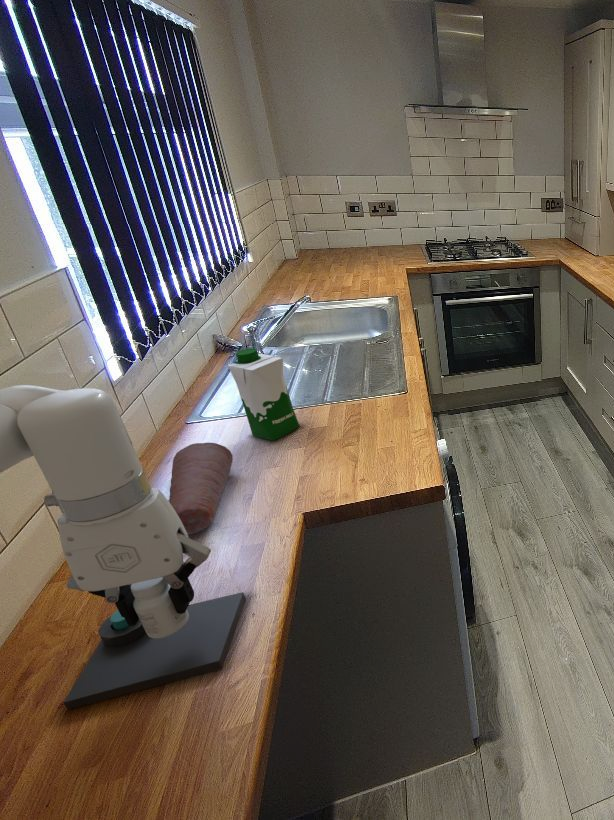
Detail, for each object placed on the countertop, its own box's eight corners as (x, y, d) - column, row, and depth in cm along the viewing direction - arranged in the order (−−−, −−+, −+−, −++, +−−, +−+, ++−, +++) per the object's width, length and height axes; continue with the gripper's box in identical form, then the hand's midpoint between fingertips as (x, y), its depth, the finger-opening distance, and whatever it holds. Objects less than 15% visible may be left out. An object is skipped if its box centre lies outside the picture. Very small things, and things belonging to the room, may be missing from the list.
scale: (67, 710, 63) (57, 693, 62) (118, 625, 74) (109, 609, 73) (222, 668, 68) (215, 652, 66) (247, 594, 79) (241, 579, 77)
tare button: (110, 633, 70) (105, 624, 69) (119, 616, 72) (115, 608, 71) (135, 626, 70) (131, 618, 70) (144, 610, 73) (140, 602, 72)
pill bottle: (186, 605, 71) (167, 562, 68) (192, 625, 68) (172, 580, 65) (145, 625, 68) (123, 580, 65) (150, 646, 65) (126, 600, 62)
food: (182, 485, 104) (166, 447, 101) (237, 470, 109) (225, 433, 106) (171, 548, 88) (152, 504, 84) (237, 527, 92) (222, 485, 89)
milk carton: (279, 419, 129) (257, 343, 121) (306, 425, 126) (285, 348, 118) (246, 436, 122) (219, 357, 114) (273, 444, 119) (248, 362, 111)
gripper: (-11, 532, 54) (63, 656, 61) (182, 497, 59) (229, 615, 66) (33, 491, 61) (96, 607, 68) (203, 462, 66) (245, 573, 73)
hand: (161, 609), depth 67 cm, fingers closed on pill bottle, 4 cm apart
